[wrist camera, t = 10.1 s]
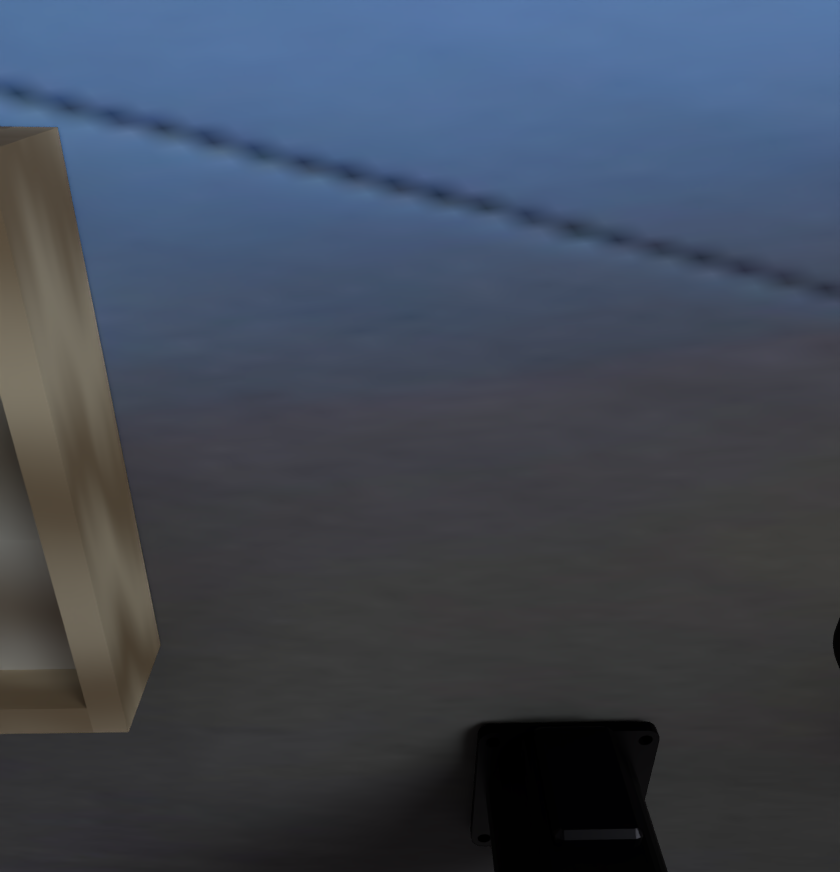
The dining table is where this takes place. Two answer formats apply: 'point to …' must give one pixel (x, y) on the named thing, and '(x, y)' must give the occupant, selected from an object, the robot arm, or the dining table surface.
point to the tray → (61, 474)
